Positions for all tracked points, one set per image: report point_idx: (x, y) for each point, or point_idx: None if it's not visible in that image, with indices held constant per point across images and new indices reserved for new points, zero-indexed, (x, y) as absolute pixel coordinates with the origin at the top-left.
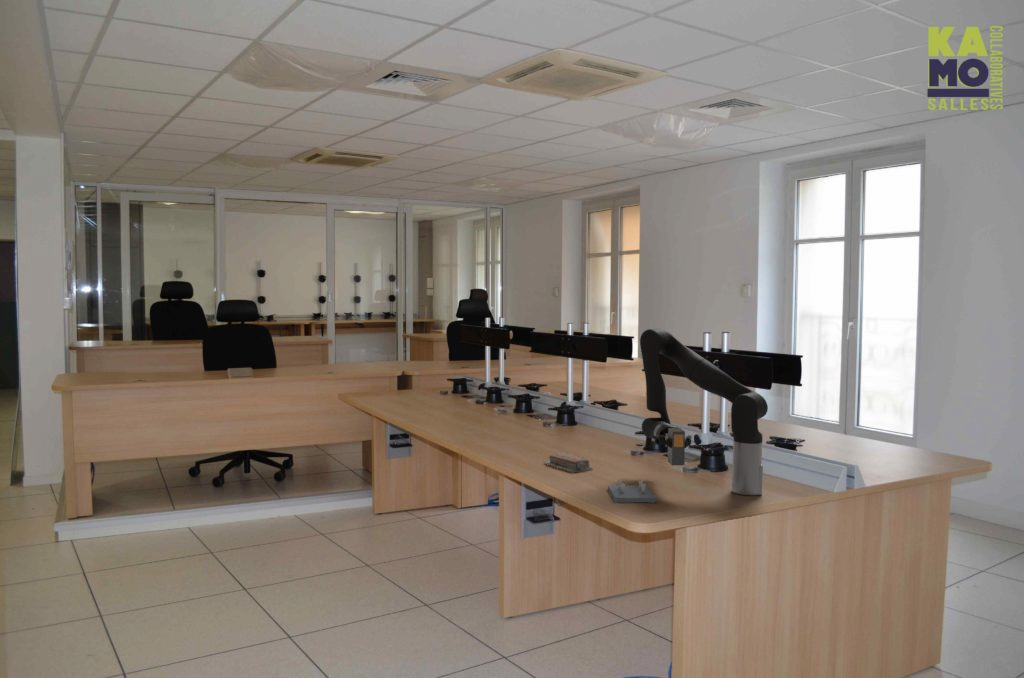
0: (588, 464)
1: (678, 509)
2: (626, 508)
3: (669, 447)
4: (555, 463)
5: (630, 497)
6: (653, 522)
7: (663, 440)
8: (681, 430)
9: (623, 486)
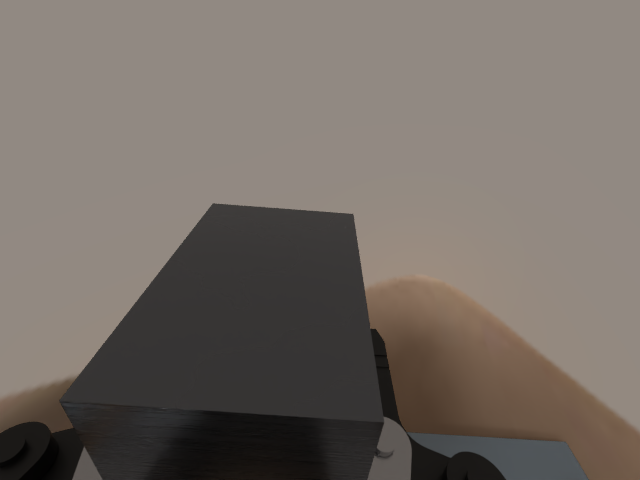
0: None
1: None
2: (488, 375)
3: None
4: None
5: (504, 442)
6: (403, 280)
7: (428, 449)
8: (217, 236)
9: None
